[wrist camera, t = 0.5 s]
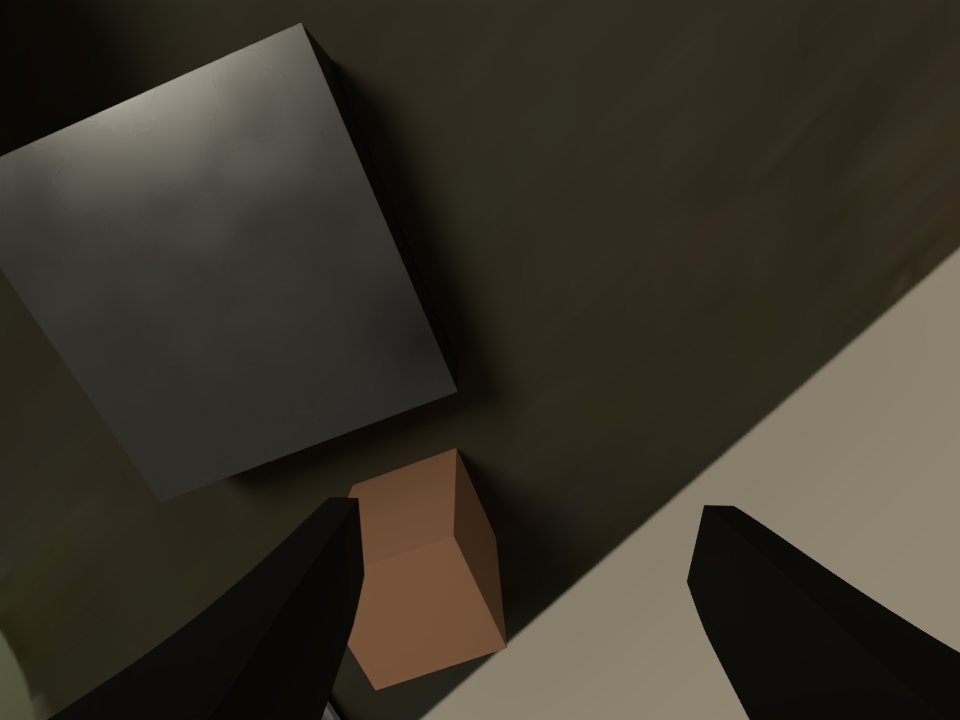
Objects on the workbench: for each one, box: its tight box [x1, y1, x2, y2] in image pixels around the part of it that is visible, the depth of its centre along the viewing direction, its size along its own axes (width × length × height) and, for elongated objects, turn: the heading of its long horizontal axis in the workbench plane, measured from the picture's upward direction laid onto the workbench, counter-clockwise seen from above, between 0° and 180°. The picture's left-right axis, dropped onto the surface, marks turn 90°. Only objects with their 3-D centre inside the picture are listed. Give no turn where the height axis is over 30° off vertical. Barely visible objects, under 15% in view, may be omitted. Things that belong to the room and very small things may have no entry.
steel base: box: [0, 23, 459, 502], centre depth 17 cm, size 12×12×3 cm
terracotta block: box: [348, 448, 507, 690], centre depth 19 cm, size 5×5×6 cm
